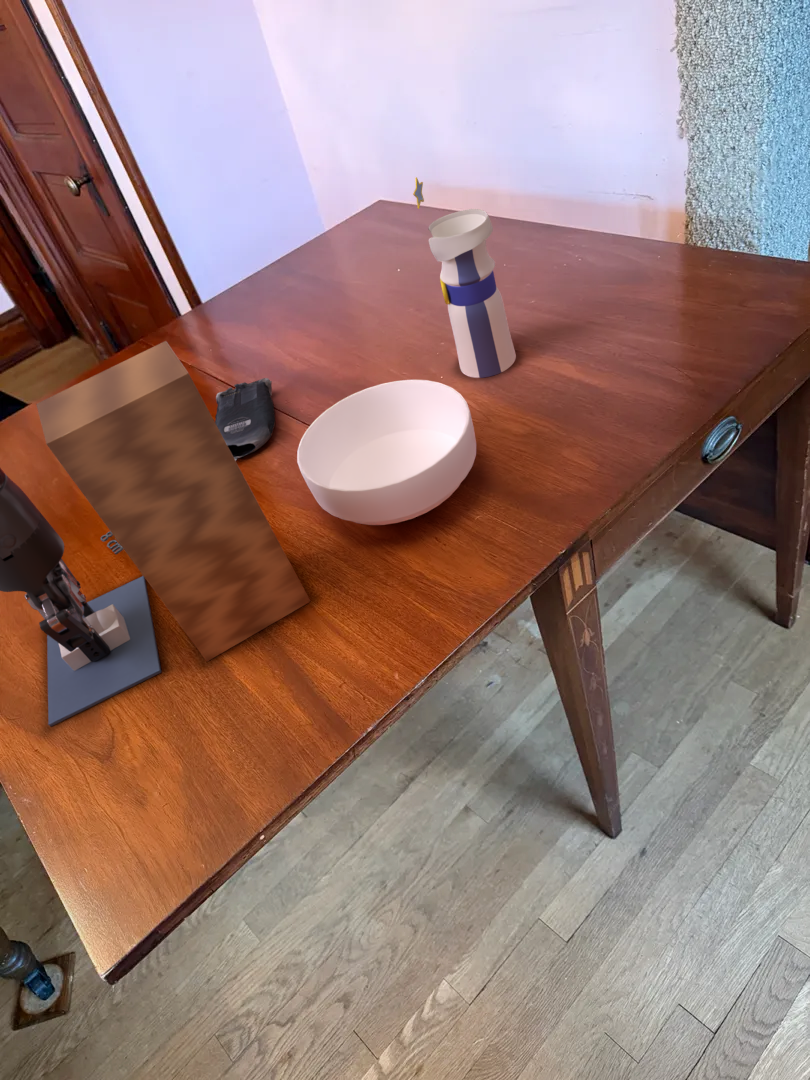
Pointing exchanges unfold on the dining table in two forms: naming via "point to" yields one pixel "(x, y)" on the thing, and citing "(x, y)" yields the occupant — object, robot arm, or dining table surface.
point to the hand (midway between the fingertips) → (98, 642)
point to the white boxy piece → (109, 630)
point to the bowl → (389, 451)
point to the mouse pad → (106, 658)
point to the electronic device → (246, 416)
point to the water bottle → (471, 291)
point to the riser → (173, 497)
